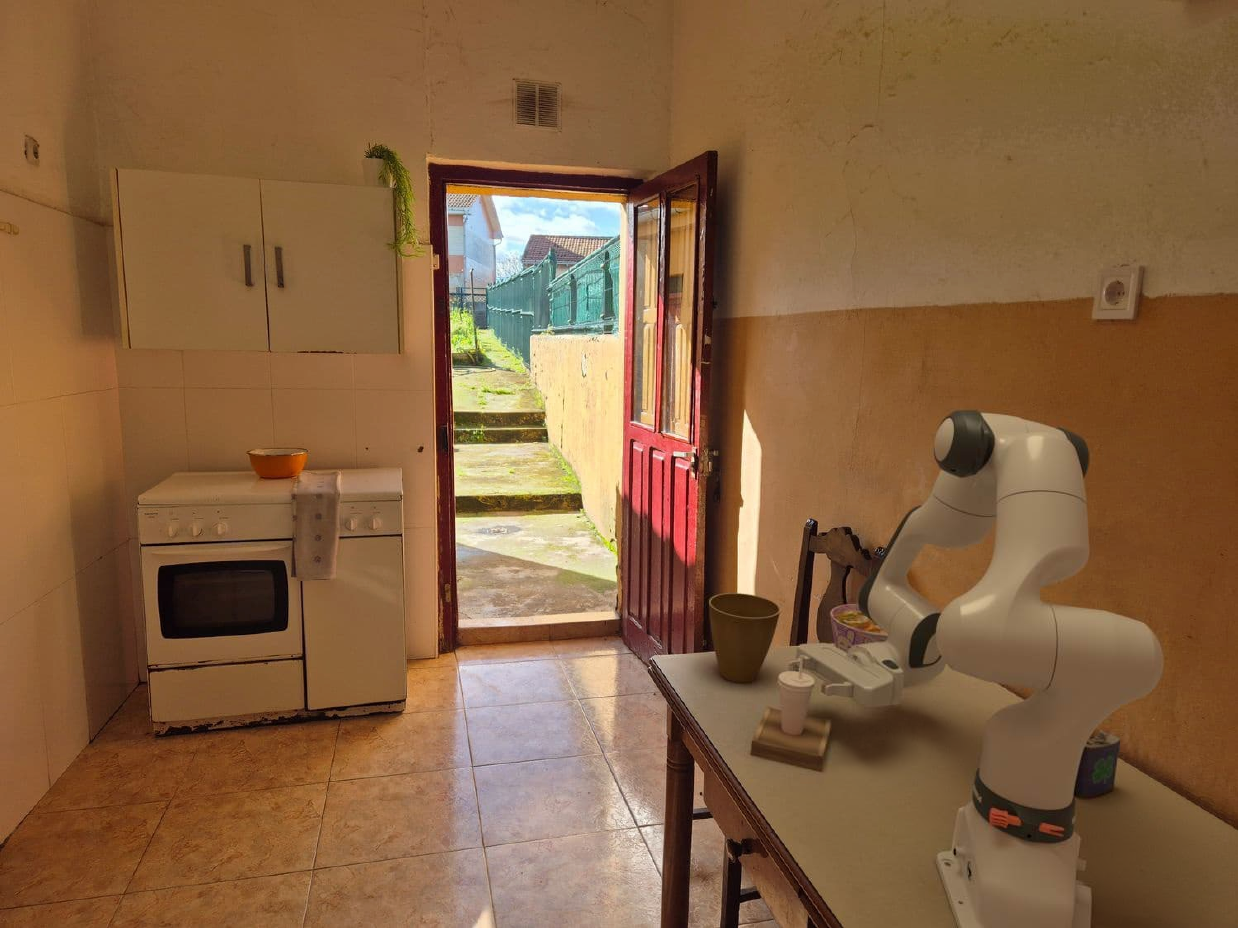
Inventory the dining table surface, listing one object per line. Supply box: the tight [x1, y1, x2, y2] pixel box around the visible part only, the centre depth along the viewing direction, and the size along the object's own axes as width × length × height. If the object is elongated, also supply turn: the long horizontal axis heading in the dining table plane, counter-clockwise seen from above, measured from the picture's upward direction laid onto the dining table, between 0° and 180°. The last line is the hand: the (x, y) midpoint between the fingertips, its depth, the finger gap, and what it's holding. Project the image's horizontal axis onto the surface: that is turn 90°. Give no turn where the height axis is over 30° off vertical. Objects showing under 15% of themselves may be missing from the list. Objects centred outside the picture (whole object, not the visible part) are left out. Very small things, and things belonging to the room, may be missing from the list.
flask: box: [1073, 728, 1121, 800], centre depth 127 cm, size 9×3×11 cm, turn 114°
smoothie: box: [777, 655, 815, 735], centre depth 137 cm, size 6×6×14 cm
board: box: [750, 706, 833, 772], centre depth 138 cm, size 14×12×3 cm
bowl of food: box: [829, 603, 888, 653], centre depth 172 cm, size 20×20×12 cm
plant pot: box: [708, 592, 781, 684], centre depth 164 cm, size 15×15×16 cm
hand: (806, 678), depth 137 cm, fingers open, 8 cm apart
